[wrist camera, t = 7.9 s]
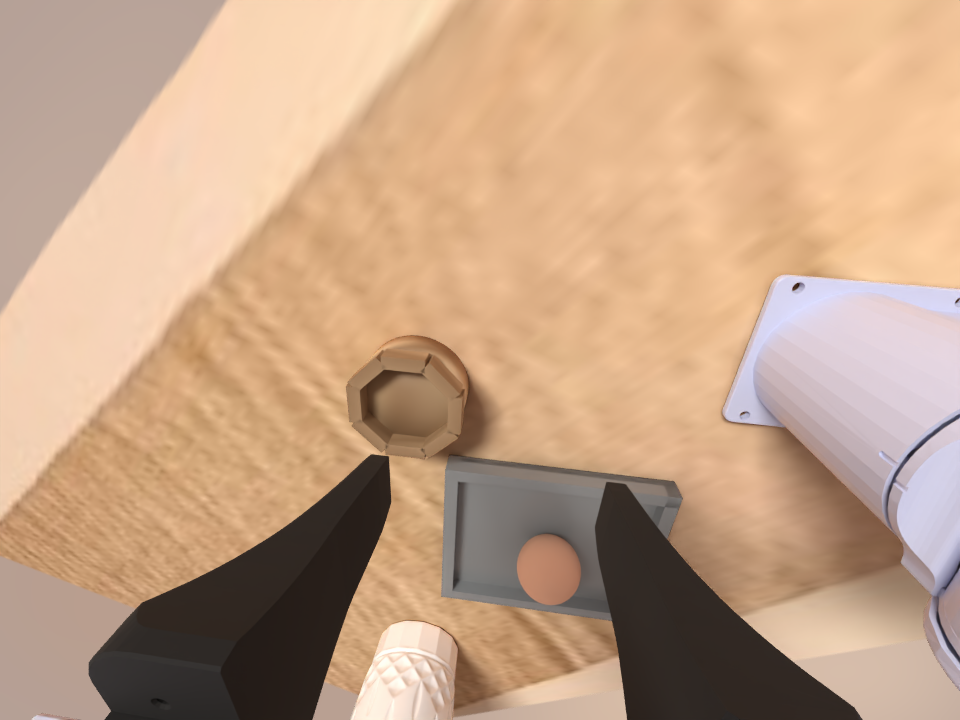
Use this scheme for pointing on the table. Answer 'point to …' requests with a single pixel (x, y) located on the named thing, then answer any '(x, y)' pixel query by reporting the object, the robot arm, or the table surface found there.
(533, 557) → the ball
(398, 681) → the white cup
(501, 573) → the tray
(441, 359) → the egg cup
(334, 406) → the table surface
